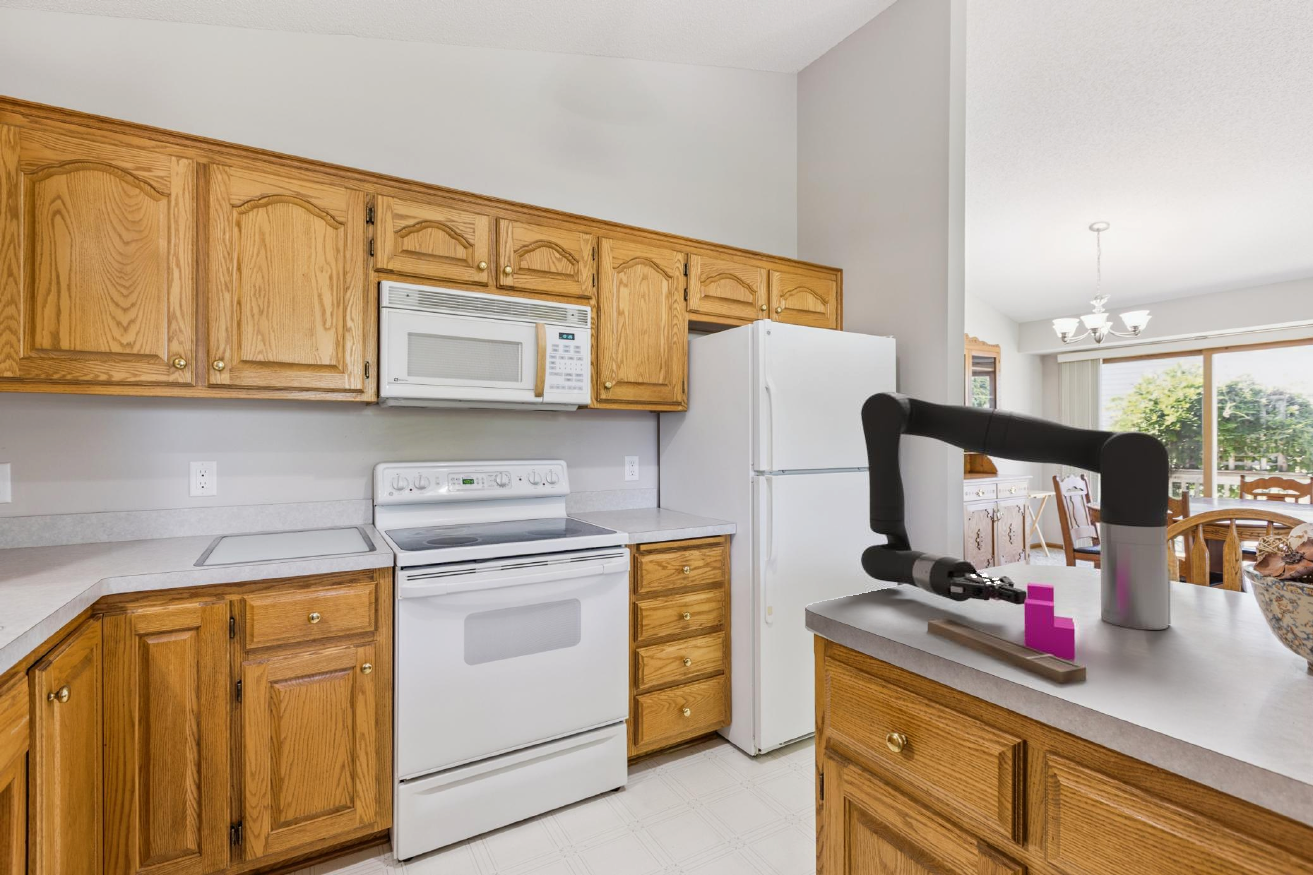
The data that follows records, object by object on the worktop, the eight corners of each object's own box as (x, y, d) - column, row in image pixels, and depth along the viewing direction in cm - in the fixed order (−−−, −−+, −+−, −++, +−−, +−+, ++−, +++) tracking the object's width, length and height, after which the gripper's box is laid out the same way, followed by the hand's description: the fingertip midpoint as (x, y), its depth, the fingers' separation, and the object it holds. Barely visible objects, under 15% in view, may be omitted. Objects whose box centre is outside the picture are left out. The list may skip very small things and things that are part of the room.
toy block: (1074, 660, 90) (1074, 608, 90) (1024, 652, 93) (1024, 602, 93) (1071, 632, 103) (1071, 587, 103) (1027, 626, 106) (1027, 582, 106)
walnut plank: (949, 628, 106) (949, 618, 106) (1086, 679, 83) (1086, 666, 83) (927, 630, 104) (927, 620, 104) (1060, 684, 81) (1060, 670, 81)
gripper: (915, 558, 116) (991, 577, 99) (971, 554, 120) (1054, 572, 103) (915, 598, 116) (991, 625, 99) (972, 593, 120) (1054, 617, 103)
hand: (1023, 598), depth 101 cm, fingers closed
